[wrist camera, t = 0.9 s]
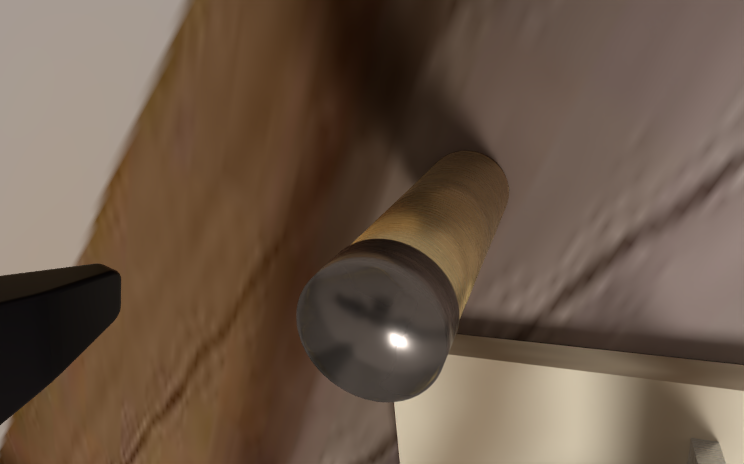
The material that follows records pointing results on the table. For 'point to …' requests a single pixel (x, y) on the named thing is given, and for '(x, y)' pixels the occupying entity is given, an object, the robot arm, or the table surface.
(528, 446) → the beige panel with ridges
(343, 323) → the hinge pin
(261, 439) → the table surface
